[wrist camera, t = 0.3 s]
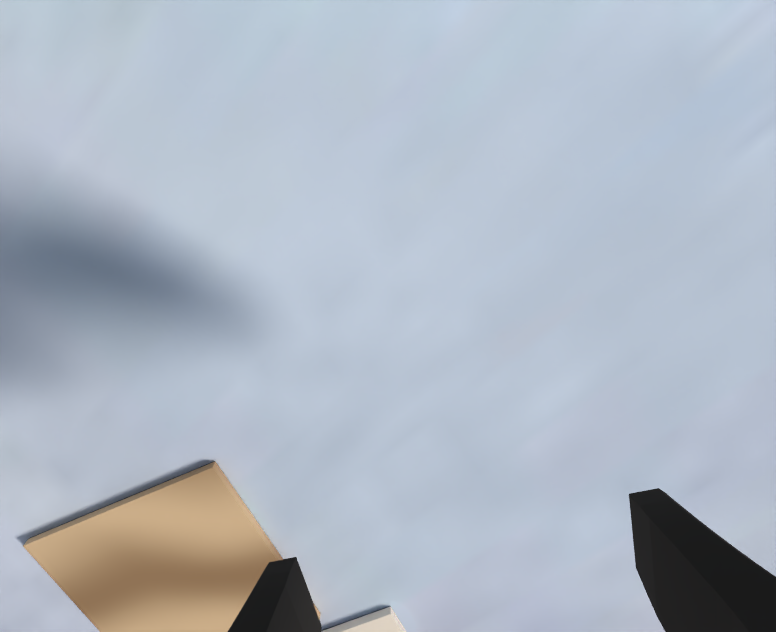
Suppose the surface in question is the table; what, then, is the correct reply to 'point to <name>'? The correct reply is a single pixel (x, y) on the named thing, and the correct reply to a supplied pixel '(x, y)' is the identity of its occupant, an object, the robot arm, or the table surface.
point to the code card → (372, 623)
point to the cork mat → (161, 557)
